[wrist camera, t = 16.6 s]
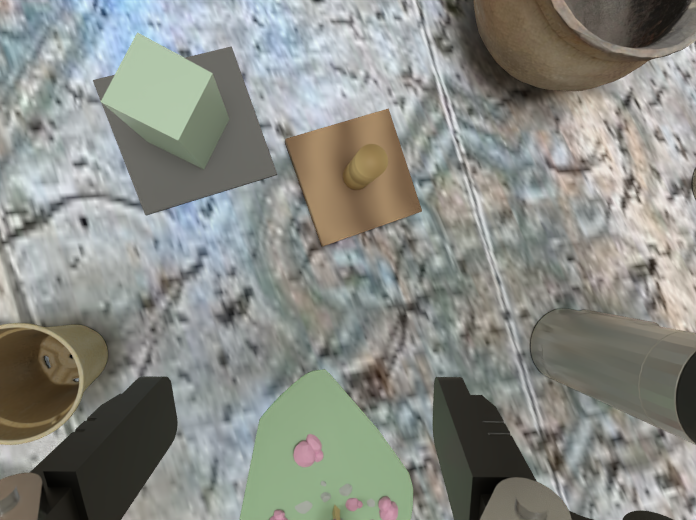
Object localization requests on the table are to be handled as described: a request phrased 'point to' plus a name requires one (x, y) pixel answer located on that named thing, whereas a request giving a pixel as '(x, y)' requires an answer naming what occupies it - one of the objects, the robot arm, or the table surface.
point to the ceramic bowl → (582, 37)
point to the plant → (323, 460)
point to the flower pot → (44, 377)
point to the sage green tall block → (168, 101)
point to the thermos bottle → (694, 183)
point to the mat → (226, 160)
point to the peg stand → (353, 176)
